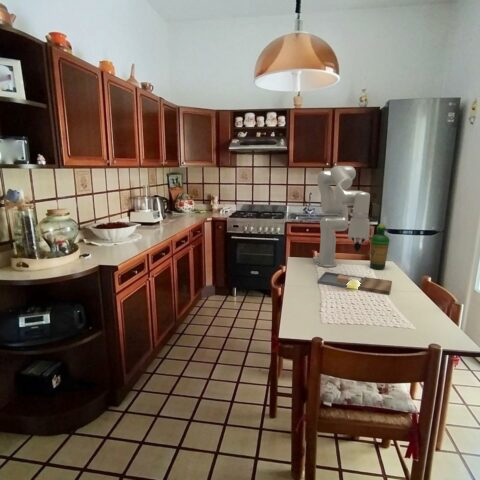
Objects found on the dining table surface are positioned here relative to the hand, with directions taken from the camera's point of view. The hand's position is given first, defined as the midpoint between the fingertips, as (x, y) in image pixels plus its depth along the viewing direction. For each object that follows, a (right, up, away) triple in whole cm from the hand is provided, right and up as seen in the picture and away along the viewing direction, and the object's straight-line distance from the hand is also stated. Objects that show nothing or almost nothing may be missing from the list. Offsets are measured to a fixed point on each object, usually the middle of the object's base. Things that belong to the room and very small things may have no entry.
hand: (357, 250), depth 181 cm
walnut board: (+10, -20, -1) cm, 22 cm away
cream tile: (0, -18, +4) cm, 18 cm away
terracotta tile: (-6, -17, +6) cm, 19 cm away
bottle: (+24, -12, +34) cm, 43 cm away
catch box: (-6, -18, +7) cm, 20 cm away
